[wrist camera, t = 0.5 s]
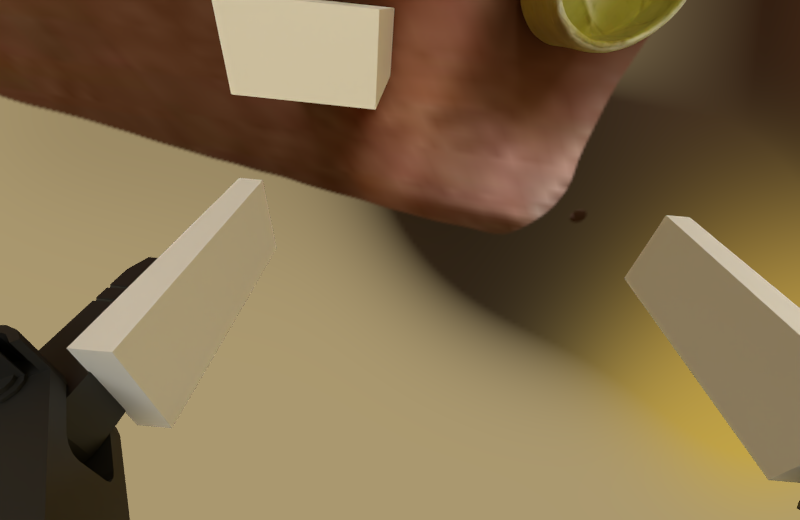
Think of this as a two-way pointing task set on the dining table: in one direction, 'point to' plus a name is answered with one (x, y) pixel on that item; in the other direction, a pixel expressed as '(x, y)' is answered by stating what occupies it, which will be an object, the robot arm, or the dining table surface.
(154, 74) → the dining table surface
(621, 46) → the mug
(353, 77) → the socket block
